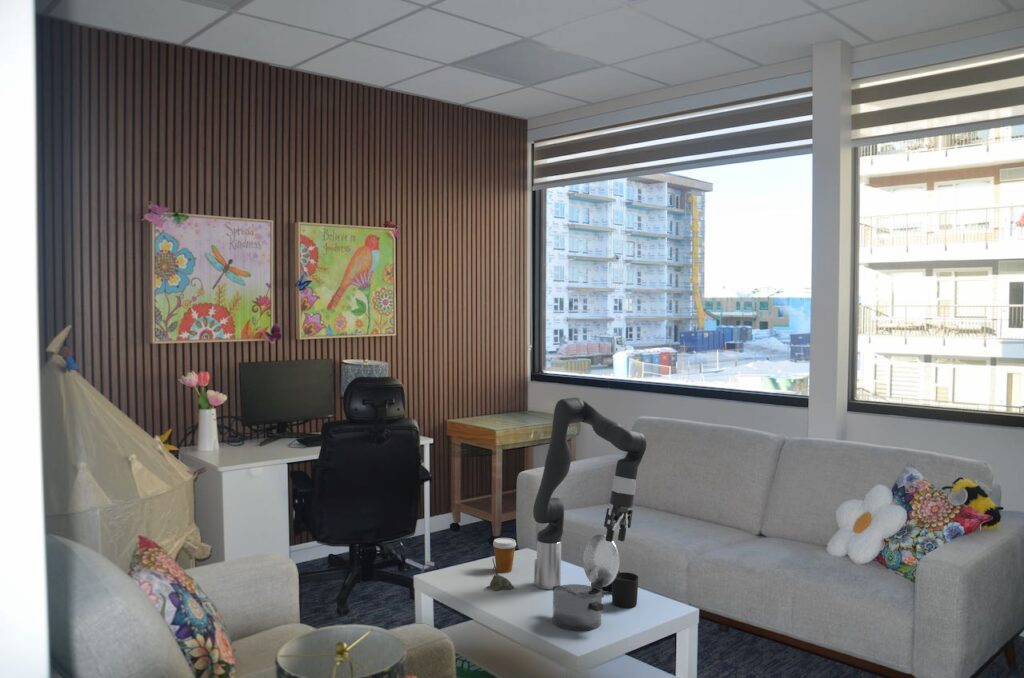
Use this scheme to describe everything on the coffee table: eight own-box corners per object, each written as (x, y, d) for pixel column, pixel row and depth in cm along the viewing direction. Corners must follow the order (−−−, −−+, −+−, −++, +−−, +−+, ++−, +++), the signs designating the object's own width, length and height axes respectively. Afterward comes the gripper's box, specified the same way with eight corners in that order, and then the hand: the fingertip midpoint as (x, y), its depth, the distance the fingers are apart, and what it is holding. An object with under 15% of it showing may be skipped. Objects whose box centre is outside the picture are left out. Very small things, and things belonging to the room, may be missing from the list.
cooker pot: (577, 606, 276) (577, 578, 276) (621, 627, 257) (622, 597, 257) (537, 615, 266) (537, 586, 266) (580, 638, 247) (580, 606, 247)
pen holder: (640, 608, 275) (641, 580, 275) (614, 608, 274) (614, 580, 274) (634, 599, 284) (635, 572, 284) (608, 599, 284) (609, 572, 284)
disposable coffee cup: (507, 575, 310) (507, 545, 310) (487, 571, 315) (488, 541, 315) (520, 569, 318) (520, 540, 318) (500, 565, 323) (501, 536, 323)
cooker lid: (579, 580, 272) (585, 581, 274) (612, 594, 258) (618, 594, 260) (587, 529, 274) (593, 530, 276) (620, 540, 260) (626, 541, 262)
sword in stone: (506, 583, 301) (507, 552, 301) (516, 590, 294) (518, 558, 294) (483, 586, 296) (484, 555, 296) (493, 593, 289) (494, 561, 289)
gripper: (622, 490, 266) (614, 538, 264) (602, 488, 254) (594, 538, 252) (642, 494, 261) (634, 543, 259) (623, 493, 250) (615, 544, 248)
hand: (615, 541), depth 256 cm, fingers open, 8 cm apart
